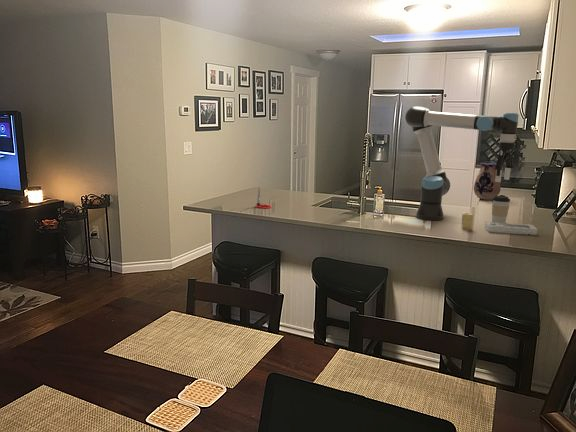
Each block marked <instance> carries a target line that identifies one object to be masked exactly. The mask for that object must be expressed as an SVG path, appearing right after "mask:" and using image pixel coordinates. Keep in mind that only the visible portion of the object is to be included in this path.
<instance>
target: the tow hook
mask: <svg viewBox="0 0 576 432" xmlns="http://www.w3.org/2000/svg"><path fill="white" fill-rule="evenodd" d="M260 189H261V187H260V186H258V190H257V199H256V200H257V202H256V205H255V207H254V208H255V209H257V208H258V209H262V210H263V209H264V210H268V209H272V206H271V205H270V204H261V199H260V197H261V190H260Z"/></svg>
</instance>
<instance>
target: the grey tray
mask: <svg viewBox="0 0 576 432" xmlns="http://www.w3.org/2000/svg"><path fill="white" fill-rule="evenodd" d="M484 228H485V230H486V231H487V233H499V234H500V233H501V234H512V235H513V234H515V235H528V234H530V236H537V235H538V228H536V227H535V226H534V225H533V224H528V223H527V224H525V223H524V224H523V223H509V222H508V223H507V222H506V223H493V222H492V221H491V222H489V221H485V222H484Z"/></svg>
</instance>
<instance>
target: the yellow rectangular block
mask: <svg viewBox="0 0 576 432" xmlns="http://www.w3.org/2000/svg"><path fill="white" fill-rule="evenodd" d="M473 219H474V214H473V213H472V212H462V216H461V225H460V227H461V229H462V230H468V231H472V229H473V228H472V227H473Z"/></svg>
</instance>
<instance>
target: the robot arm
mask: <svg viewBox="0 0 576 432" xmlns="http://www.w3.org/2000/svg"><path fill="white" fill-rule="evenodd" d="M404 118H405V119H404V120H405V122H406V123H407V125H408V126H410V127H411V128H412V132H413V133H414V134H415V135H416V136H417V141H418V144H419V147H420V151H421V155H422V158H423V162H424V167H425V171H426V174H425V176H424V177H423V178H422V180H421V186H420V187H421V189H420V202H419V206H418V208H417V210H416V213H415V217H416V218H418V219H420V220H424V221H425V220H426V221H441V220H443V219H444V212H443V207H442V199H443V196H445V195H447V194H448V192H449V191H450V189H451V181H450V180H449V178H448V177H447V174H446V171H445V170H443V169H442V165H441V162H440V158H439V155H438V150H437V146H436V143H435V138H434V135H433V134H434V133H433V128H434V127H444V128H456V129H465V130H467V129H468V130H475V131H476V130H477V131H481V132H486V131H487V132H488V131H500V139H499V141H500V142H499V147H498V149H500V151H499V152H498V157H497V161H496V166H495V170H496V177H495V182H500V183H501V181H502V174H503V173H502V172H503V170H502V169H503V167H504V164H505V168H504V176H503V177H504V178H503V180H506V181H510V178H511V177H510V176H511V169H513V167H514V166H513V163H514V161H513V152H514V151H513V150H515V144H516V143H515V142H516V139H517V138H518V136H517V130H518V123H519V114H518V113H517V112H503V115H502V116H499V115H479V114H478V115H477V114H466V113H465V114H464V113H453V112H443V111H442V112H441V111H431V110H430V109H429V108H428V107H426V106H411V107H410V108H409V109H408V110H407V111H406V113H405V116H404Z"/></svg>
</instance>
